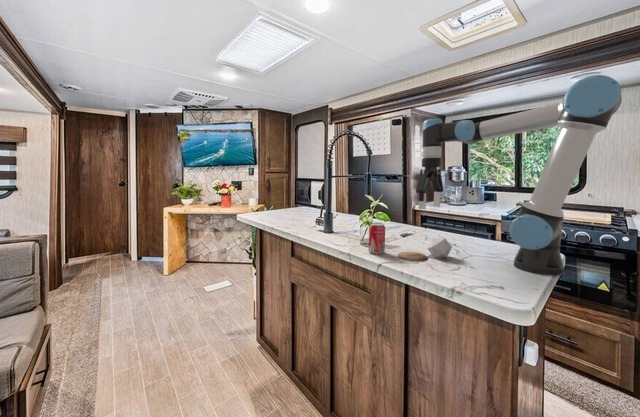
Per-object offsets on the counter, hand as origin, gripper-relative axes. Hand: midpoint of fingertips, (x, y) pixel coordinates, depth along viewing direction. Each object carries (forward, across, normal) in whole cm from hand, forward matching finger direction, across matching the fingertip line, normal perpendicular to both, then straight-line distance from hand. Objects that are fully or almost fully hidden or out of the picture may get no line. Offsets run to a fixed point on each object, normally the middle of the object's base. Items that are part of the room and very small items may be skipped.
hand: (429, 207), depth 126 cm
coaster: (+20, +8, -3) cm, 22 cm away
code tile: (+21, 0, +5) cm, 21 cm away
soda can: (+20, +13, -18) cm, 30 cm away
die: (+21, 0, +5) cm, 21 cm away
